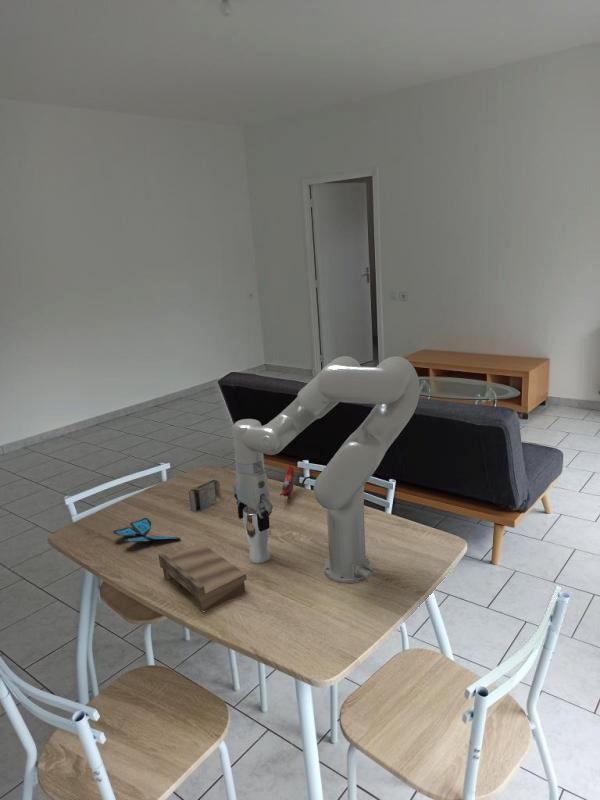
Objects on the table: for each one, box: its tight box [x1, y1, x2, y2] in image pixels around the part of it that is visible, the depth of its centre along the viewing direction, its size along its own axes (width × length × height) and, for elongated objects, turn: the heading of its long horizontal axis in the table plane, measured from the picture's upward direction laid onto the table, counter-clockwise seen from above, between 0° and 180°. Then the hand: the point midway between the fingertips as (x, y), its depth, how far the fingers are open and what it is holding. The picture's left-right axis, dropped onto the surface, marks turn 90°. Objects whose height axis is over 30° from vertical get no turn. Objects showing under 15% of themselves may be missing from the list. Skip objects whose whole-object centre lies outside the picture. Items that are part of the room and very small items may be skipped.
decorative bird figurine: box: [279, 465, 295, 501], centre depth 195 cm, size 3×18×10 cm, turn 167°
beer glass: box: [242, 503, 272, 565], centre depth 160 cm, size 7×7×15 cm
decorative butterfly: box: [113, 517, 182, 543], centre depth 177 cm, size 20×14×3 cm
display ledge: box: [157, 542, 248, 612], centre depth 151 cm, size 22×13×7 cm, turn 39°
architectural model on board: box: [187, 478, 222, 513], centre depth 196 cm, size 11×3×10 cm, turn 139°
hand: (253, 523), depth 160 cm, fingers open, 9 cm apart
